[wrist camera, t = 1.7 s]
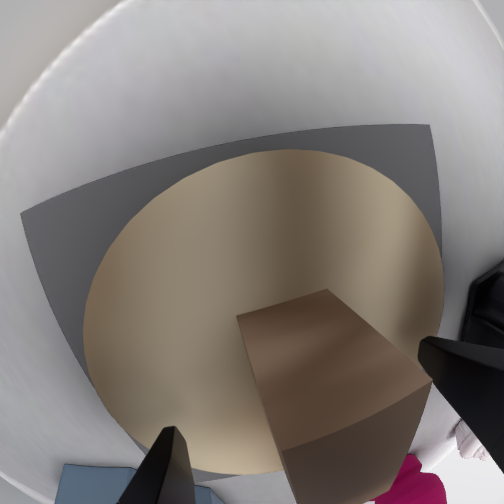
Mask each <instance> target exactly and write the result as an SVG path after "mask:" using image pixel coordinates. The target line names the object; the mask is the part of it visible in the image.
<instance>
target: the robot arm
mask: <svg viewBox="0 0 504 504" xmlns="http://www.w3.org/2000/svg"><path fill="white" fill-rule="evenodd" d="M417 358H418V361H419V363H420V364H421V366H422V367H423V369H424V370H425V372H426V373H427V375H428V376H429V377H431V378H432V379H433V381H432V382H433V384H434V385H435V386H436V388H437V389H438V390H439V392H440V393H441V394H442V395H443V396H444V398H445V399H446V400H447V401H448V402H449V404H450V405H451V406H452V407H453V408H454V410H455V411H456V412H457V413H458V415H459V416H460V417H461V418H462V419H463V421H464V422H465V423H466V424H467V426H468V427H469V428H470V429H471V431H472V432H473V433H474V435H475V436H476V437H477V438H478V440H479V441H480V442H481V444H482V445H483V446H484V448H485V449H486V450H487V451H488V453H489V454H490V456H491V457H492V458H493V460H494V461H495V462H496V464H497V465H498V467H499V468H500V469H501V471H502V472H503V474H504V262H502V263H501V264H500V265H498V266H497V267H495V268H494V269H493V270H491V271H490V272H488V273H487V274H485V275H484V276H482V277H481V278H479V279H478V280H476V281H475V282H474V283H473V285H472V288H471V292H470V300H469V306H468V312H467V318H466V323H465V328H464V333H463V337H462V342H459V341H454V340H449V339H444V338H439V337H434V336H427V337H425V338H423V339H421V340H420V342H419V349H418V355H417ZM116 504H196V499H195V487H194V479H193V474H192V469H191V464H190V459H189V453H188V448H187V443H186V440H185V438H184V437H183V435H182V434H181V433H180V431H179V430H178V428H177V427H176V426H167V427H164V428H163V429H162V430H161V432H160V434H159V435H158V437H157V438H156V440H155V442H154V443H153V445H152V447H151V448H150V450H149V451H148V453H147V455H146V456H145V458H144V460H143V461H142V463H141V464H140V466H139V468H138V469H137V471H136V472H135V474H134V476H133V477H132V479H131V480H130V482H129V484H128V485H127V487H126V488H125V490H124V492H123V493H122V495H121V496H120V498H119V499H118V502H116Z"/></svg>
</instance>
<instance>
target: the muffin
mask: <svg viewBox="0 0 504 504" xmlns="http://www.w3.org/2000/svg"><path fill="white" fill-rule="evenodd" d="M455 434H456V440H457V446H458V450H460V456H461V457H462V458H464V459H469V458H472V457H473V458H480V460H487V459H489V458H490V457H491V456H490V454H489V453H488V451H487V450H486V449H485V448H484V446H483V445H482V444H481V442H480V441H479V440H478V438H477V437H476V436H475V435H474V433H473V432H472V431H471V429H470V428H469V427H468V426H467V424H466V423H465V422H464V421H463V419H462V420H461V421H460V423H459V424H458V425H457V427H456V429H455Z"/></svg>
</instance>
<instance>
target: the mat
mask: <svg viewBox="0 0 504 504" xmlns="http://www.w3.org/2000/svg"><path fill="white" fill-rule="evenodd" d="M283 149H295V150H312V151H321V152H326V153H330V154H335V155H339V156H343V157H347V158H350V159H352V160H355V161H357V162H359V163H362V164H364V165H366V166H369V167H371V168H373V169H375V170H376V171H378V172H379V173H381V174H382V175H384V176H386V177H387V178H389V179H390V180H392V181H393V182H394V183H395V184H396V185H397V186H399V187H400V188H401V189H402V190H403V191H404V192H405V193H406V194H407V195H408V196H409V197H410V198H411V199H412V200H413V202H414V203H415V204H416V206H417V207H418V208H419V209H420V211H421V212H422V213H423V215H424V217H425V219H426V220H427V222H428V224H429V226H430V228H431V230H432V232H433V234H434V237H435V240H436V243H437V245H438V248H439V252H440V256H442V229H441V206H440V192H439V182H438V173H437V165H436V158H435V151H434V145H433V140H432V134H431V129H430V125H423V124H388V125H362V126H347V127H334V128H323V129H314V130H305V131H297V132H290V133H282V134H276V135H269V136H263V137H257V138H252V139H246V140H241V141H236V142H231V143H226V144H221V145H216V146H212V147H207V148H203V149H199V150H195V151H191V152H187V153H183V154H179V155H175V156H171V157H168V158H164V159H161V160H157V161H154V162H150V163H147V164H144V165H140V166H137V167H134V168H131V169H128V170H125V171H122V172H119V173H116V174H113V175H110V176H107V177H104V178H102V179H99V180H96V181H93V182H91V183H88V184H85V185H83V186H80V187H78V188H75V189H73V190H70V191H68V192H66V193H63V194H61V195H58V196H56V197H54V198H52V199H49V200H47V201H45V202H43V203H40V204H38V205H36V206H34V207H32V208H30V209H28V210H26V211H24V212H22V213H20V214H21V219H22V223H23V227H24V231H25V234H26V238H27V241H28V245H29V248H30V252H31V255H32V258H33V261H34V264H35V267H36V270H37V273H38V276H39V278H40V281H41V284H42V286H43V289H44V291H45V294H46V296H47V299H48V301H49V304H50V306H51V308H52V310H53V313H54V315H55V317H56V319H57V321H58V324H59V326H60V328H61V330H62V332H63V334H64V336H65V338H66V340H67V342H68V344H69V346H70V348H71V349H72V351H73V353H74V355H75V357H76V358H77V360H78V362H79V364H80V365H81V367H82V369H83V371H84V372H85V374H86V376H87V377H88V379H89V380H90V382H91V384H92V385H93V382H92V380H91V377H90V375H89V371H88V367H87V363H86V358H85V354H84V341H83V323H84V314H85V306H86V301H87V298H88V294H89V291H90V288H91V285H92V282H93V278H94V276H95V274H96V272H97V270H98V268H99V266H100V264H101V262H102V260H103V258H104V256H105V254H106V252H107V250H108V249H109V247H110V246H111V244H112V243H113V242H114V240H115V239H116V238H117V236H118V235H119V234H120V232H121V231H122V230H123V229H124V227H125V226H126V225H127V223H128V222H129V221H130V220H131V219H132V218H133V217H134V216H135V215H137V214H138V213H139V212H140V211H141V210H142V209H143V208H144V207H145V206H146V205H147V204H148V203H149V202H150V201H152V200H153V199H154V198H155V197H157V196H158V195H159V194H161V193H162V192H164V191H165V190H167V189H168V188H170V187H171V186H173V185H174V184H176V183H177V182H179V181H180V180H182V179H183V178H185V177H187V176H189V175H192V174H194V173H196V172H198V171H200V170H202V169H204V168H207V167H209V166H211V165H213V164H216V163H218V162H221V161H225V160H228V159H232V158H235V157H239V156H243V155H246V154H250V153H256V152H264V151H273V150H283ZM422 370H423V371H424V372H425V370H424V369H422ZM425 373H426V372H425ZM426 374H427V373H426ZM93 387H94V385H93ZM94 388H95V387H94ZM95 390H96V389H95ZM127 434H128V435H129V436H130V437H131V439H132V440H133V441H134V442H135V443H136V445H137V446H138V447H139V448H140V449H141V450H142V451H143V453H144V454H145V455H147V453H148V451H149V450H150V449H148V448H147V447H145V446H144V445H142V444H141V443H140V442H138V441H137V440H135V439H134V438H133V437H132V436H131V435H130V434H129V433H127ZM191 469H192V474H193V479H194V483H195V482H203V481H210V480H216V479H222V478H228V477H233V476H238V475H237V474H221V473H214V472H208V471H203V470H199V469H195V468H191Z"/></svg>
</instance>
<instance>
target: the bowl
mask: <svg viewBox="0 0 504 504" xmlns="http://www.w3.org/2000/svg"><path fill="white" fill-rule="evenodd" d="M136 471H137V470H135V469H132V468H106V467H88V466H76V465H67V464H65V465H64V468H63V472H62V475H61V479H60V483H59V487H58V491H57V495H56V499H55V503H54V504H116V502H118V499H119V498H120V496H121V495H122V493H123V492H124V490H125V488H126V487H127V485H128V484H129V482H130V480H131V479H132V477H133V476H134V474H135V472H136ZM194 487H195V499H196V504H224V503H223V502H222V501H221V500H220V499H219V498H218V497H217V496H216V495H215V494H214V492H213V491H212V490H211V489H210V488H206V487H200V486H195V485H194Z"/></svg>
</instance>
